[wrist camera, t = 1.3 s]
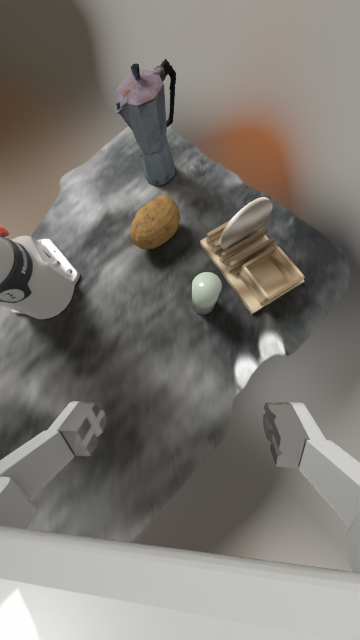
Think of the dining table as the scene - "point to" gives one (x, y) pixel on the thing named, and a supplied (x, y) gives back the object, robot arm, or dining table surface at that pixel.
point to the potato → (155, 223)
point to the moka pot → (149, 118)
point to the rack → (252, 257)
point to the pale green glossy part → (205, 292)
